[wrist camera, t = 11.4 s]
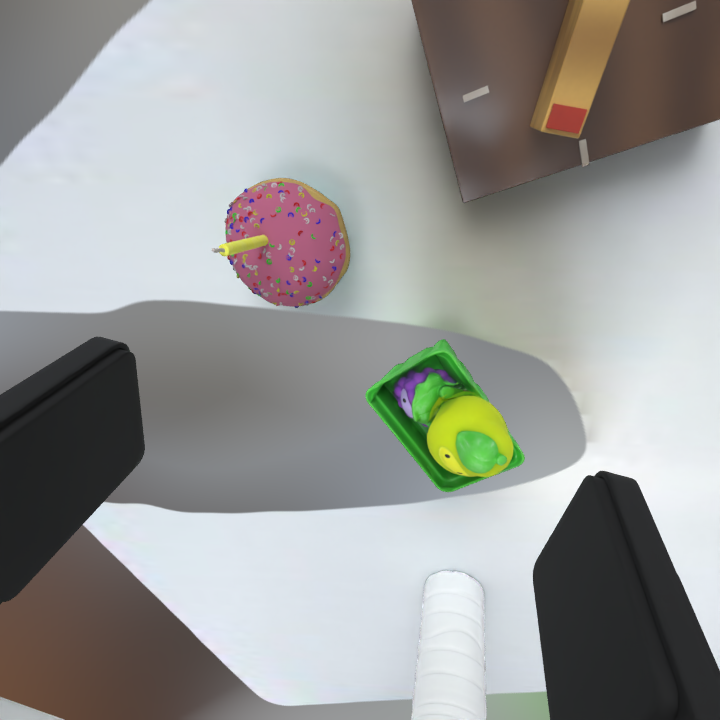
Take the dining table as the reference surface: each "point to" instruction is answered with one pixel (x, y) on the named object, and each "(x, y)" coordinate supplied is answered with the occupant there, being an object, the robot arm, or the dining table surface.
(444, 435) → the fruit basket
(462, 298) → the dining table surface
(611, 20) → the tap handle
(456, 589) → the water bottle
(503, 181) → the plate
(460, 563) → the dining table surface
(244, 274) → the cupcake
